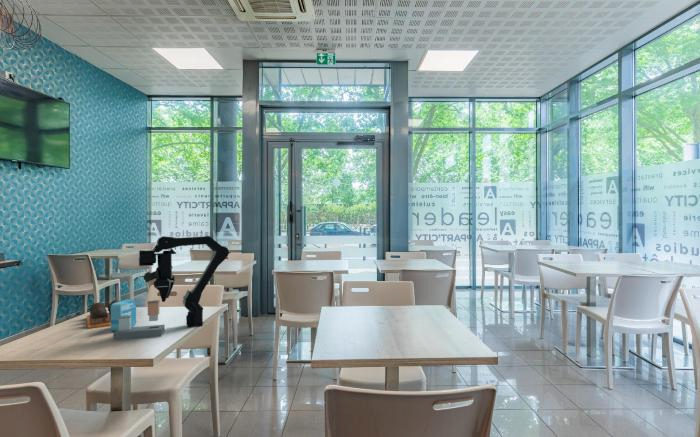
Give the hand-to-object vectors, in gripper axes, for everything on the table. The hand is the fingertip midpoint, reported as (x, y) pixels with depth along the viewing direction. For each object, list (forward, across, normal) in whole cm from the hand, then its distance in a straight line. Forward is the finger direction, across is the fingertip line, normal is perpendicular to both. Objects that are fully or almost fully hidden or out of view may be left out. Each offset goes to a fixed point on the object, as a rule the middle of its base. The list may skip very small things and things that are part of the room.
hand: (165, 299), depth 187 cm
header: (+13, +8, -9) cm, 18 cm away
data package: (+13, -9, -19) cm, 25 cm away
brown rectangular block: (+8, +8, -4) cm, 12 cm away
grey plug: (+13, +8, -14) cm, 21 cm away
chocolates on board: (+14, -29, -31) cm, 45 cm away
